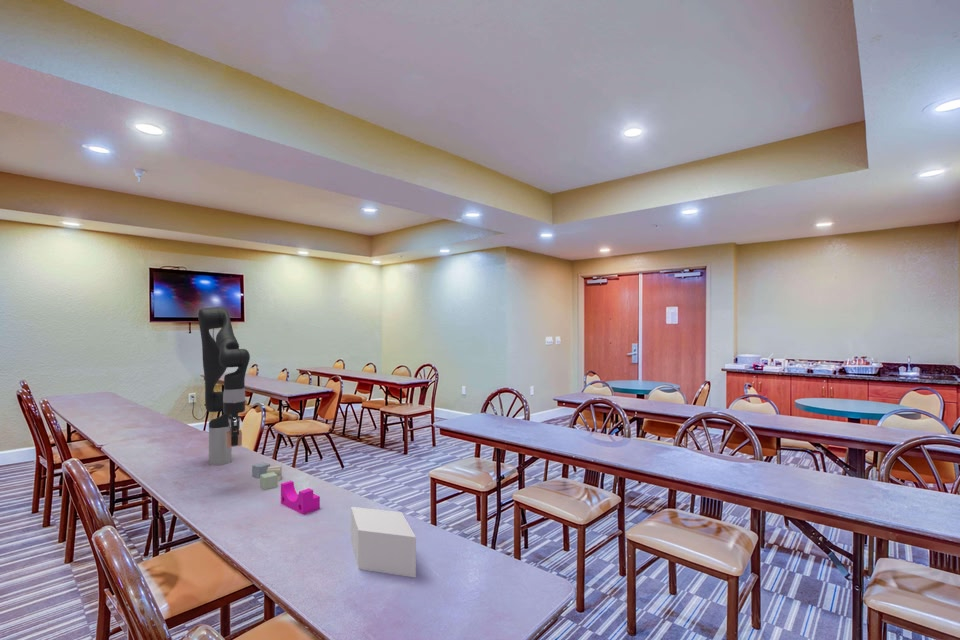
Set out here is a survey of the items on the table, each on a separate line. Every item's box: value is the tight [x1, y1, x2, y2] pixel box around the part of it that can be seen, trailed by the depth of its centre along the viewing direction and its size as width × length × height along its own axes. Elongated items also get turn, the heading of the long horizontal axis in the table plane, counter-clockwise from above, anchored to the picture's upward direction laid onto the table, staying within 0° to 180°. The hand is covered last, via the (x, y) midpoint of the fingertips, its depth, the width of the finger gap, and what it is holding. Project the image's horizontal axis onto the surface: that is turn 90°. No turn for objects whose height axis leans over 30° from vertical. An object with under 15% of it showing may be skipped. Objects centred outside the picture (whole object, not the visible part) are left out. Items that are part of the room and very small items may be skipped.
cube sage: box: [259, 472, 279, 491], centre depth 173 cm, size 5×5×5 cm
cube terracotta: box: [226, 429, 243, 448], centre depth 171 cm, size 5×5×5 cm
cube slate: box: [251, 461, 271, 479], centre depth 186 cm, size 5×5×5 cm
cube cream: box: [267, 465, 283, 482], centre depth 182 cm, size 5×5×5 cm
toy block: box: [280, 480, 321, 516], centre depth 155 cm, size 15×6×8 cm, turn 52°
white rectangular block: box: [350, 506, 417, 578], centre depth 121 cm, size 14×29×10 cm, turn 50°
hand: (234, 443), depth 171 cm, fingers closed on cube terracotta, 5 cm apart
